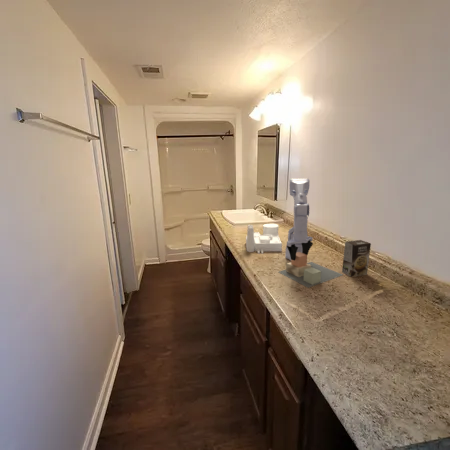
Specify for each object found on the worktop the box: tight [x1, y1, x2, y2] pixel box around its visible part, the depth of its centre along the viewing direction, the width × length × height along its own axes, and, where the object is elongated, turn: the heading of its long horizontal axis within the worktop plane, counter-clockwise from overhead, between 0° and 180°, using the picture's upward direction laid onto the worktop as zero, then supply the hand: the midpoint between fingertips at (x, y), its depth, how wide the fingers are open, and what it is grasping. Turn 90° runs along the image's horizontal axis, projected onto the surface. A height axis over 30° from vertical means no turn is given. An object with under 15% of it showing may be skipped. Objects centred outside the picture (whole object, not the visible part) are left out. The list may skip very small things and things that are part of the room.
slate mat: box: [278, 261, 344, 289], centre depth 125 cm, size 19×23×1 cm
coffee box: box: [341, 239, 372, 278], centre depth 122 cm, size 9×6×16 cm
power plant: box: [245, 223, 283, 255], centre depth 170 cm, size 35×24×15 cm
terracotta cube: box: [290, 252, 308, 267], centre depth 125 cm, size 5×5×5 cm
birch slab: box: [285, 261, 311, 277], centre depth 126 cm, size 8×8×4 cm
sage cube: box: [304, 268, 321, 285], centre depth 116 cm, size 5×5×5 cm
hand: (299, 258), depth 125 cm, fingers open, 7 cm apart
